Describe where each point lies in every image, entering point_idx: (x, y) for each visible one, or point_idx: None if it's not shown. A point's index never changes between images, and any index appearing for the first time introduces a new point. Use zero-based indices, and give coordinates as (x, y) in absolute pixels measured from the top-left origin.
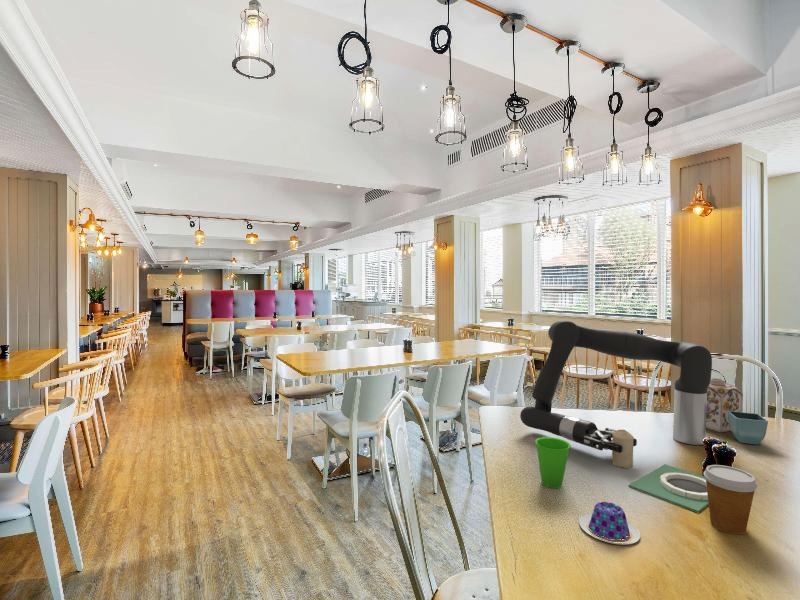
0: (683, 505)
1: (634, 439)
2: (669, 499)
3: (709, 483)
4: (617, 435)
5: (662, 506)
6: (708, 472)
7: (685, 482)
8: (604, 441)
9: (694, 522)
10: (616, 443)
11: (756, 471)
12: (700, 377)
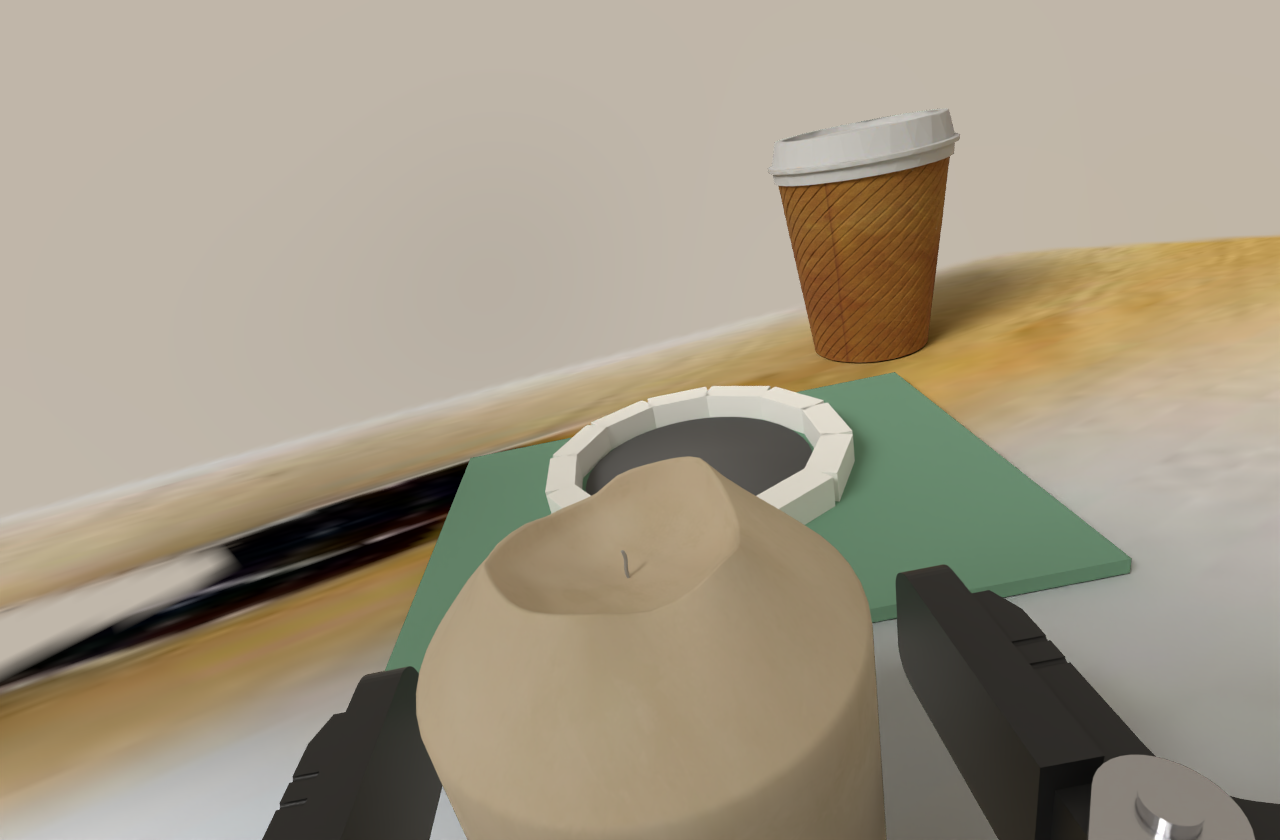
0: (922, 396)
1: (405, 673)
2: (950, 423)
3: (946, 164)
4: (832, 576)
5: (1042, 416)
6: (943, 116)
7: None
8: (1244, 833)
9: (987, 355)
10: (952, 635)
11: (162, 520)
12: None
